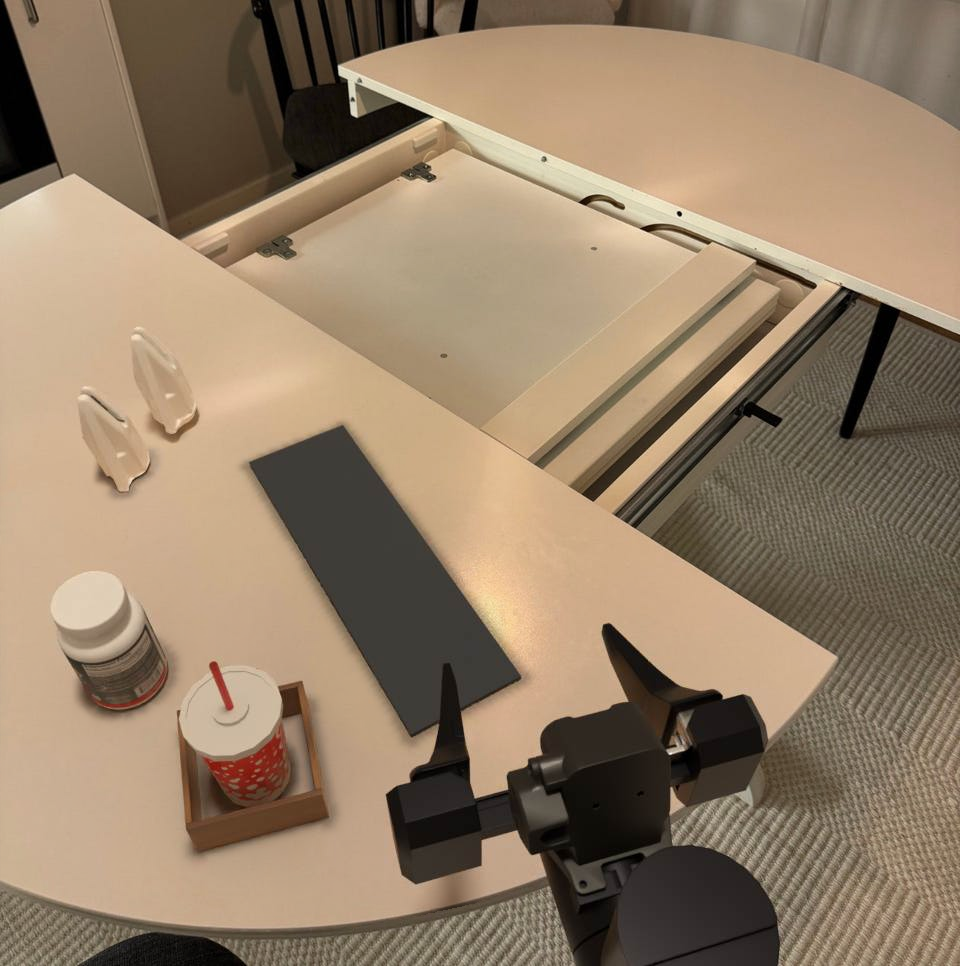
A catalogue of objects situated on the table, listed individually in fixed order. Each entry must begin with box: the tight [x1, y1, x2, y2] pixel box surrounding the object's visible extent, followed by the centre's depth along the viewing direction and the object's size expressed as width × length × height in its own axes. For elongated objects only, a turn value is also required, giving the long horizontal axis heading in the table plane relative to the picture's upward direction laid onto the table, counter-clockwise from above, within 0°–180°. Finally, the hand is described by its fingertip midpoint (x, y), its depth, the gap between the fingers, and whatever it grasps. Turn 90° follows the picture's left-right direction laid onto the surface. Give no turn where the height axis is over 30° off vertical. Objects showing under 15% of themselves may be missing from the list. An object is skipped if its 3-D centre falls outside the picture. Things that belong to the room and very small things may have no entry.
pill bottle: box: [49, 570, 168, 710], centre depth 66 cm, size 6×6×10 cm
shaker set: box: [77, 326, 198, 493], centre depth 81 cm, size 12×4×11 cm, turn 152°
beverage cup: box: [179, 660, 292, 808], centre depth 59 cm, size 6×6×14 cm
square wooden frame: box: [176, 680, 330, 852], centre depth 63 cm, size 8×8×4 cm
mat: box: [248, 424, 522, 738], centre depth 76 cm, size 30×9×1 cm, turn 31°
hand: (526, 646), depth 53 cm, fingers open, 9 cm apart
